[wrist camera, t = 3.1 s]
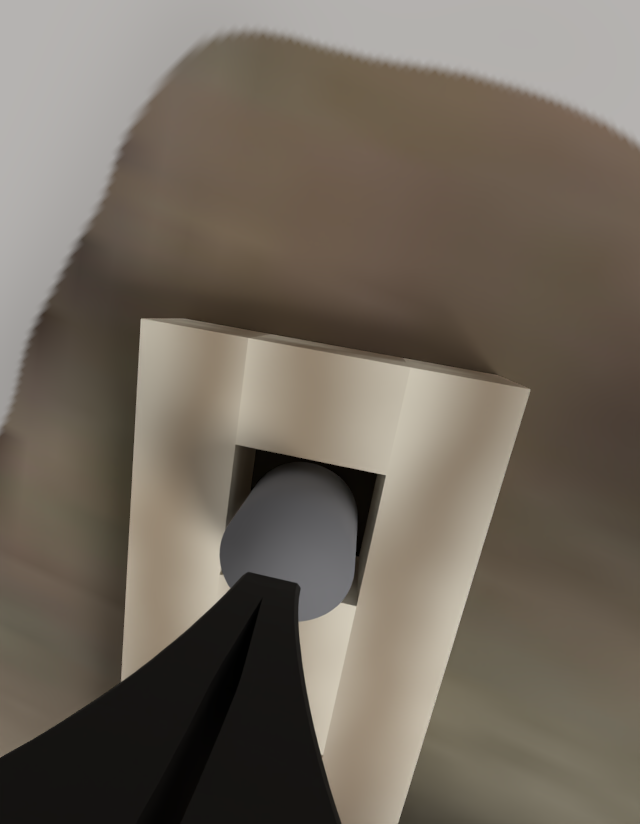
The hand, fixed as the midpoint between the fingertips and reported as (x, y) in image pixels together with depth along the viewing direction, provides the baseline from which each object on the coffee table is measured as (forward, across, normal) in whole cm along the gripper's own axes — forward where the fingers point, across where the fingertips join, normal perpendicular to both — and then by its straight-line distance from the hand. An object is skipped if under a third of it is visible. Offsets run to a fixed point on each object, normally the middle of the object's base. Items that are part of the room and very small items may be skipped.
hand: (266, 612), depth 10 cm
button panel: (+7, 0, +6) cm, 9 cm away
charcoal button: (+5, 0, 0) cm, 5 cm away
